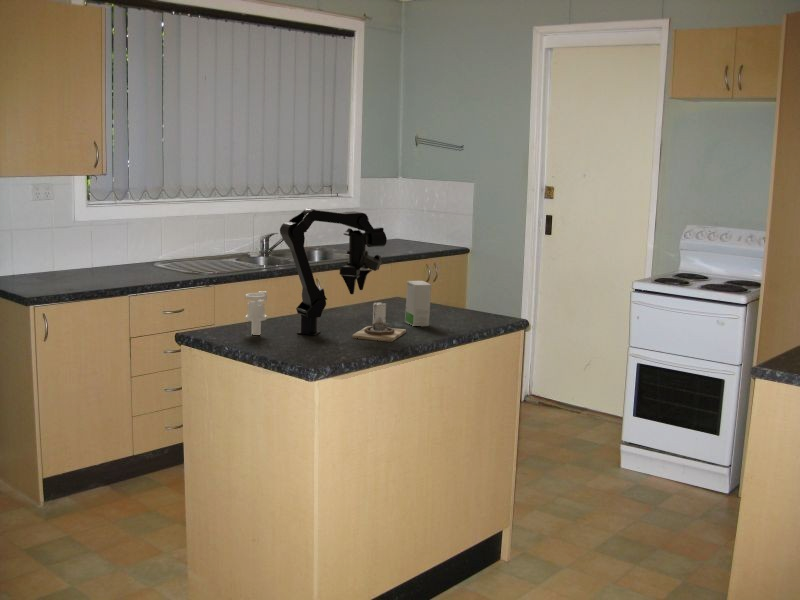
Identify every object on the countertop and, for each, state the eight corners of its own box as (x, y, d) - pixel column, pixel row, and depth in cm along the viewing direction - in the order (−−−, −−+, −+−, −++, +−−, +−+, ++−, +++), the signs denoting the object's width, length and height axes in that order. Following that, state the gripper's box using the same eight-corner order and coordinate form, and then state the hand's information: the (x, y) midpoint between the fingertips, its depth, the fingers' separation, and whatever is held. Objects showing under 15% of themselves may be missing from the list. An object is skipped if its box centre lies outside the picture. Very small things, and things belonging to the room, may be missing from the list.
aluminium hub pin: (384, 334, 304) (385, 305, 303) (367, 333, 306) (368, 304, 304) (389, 331, 310) (390, 302, 308) (373, 329, 312) (374, 301, 310)
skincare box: (404, 322, 330) (405, 280, 327) (420, 321, 332) (422, 280, 330) (413, 327, 322) (415, 284, 319) (430, 326, 325) (432, 283, 322)
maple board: (391, 341, 299) (391, 336, 298) (352, 337, 303) (352, 332, 303) (405, 332, 314) (405, 326, 313) (367, 328, 318) (368, 323, 318)
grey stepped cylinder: (266, 337, 300) (266, 293, 297) (245, 337, 299) (245, 293, 296) (266, 332, 307) (266, 289, 304) (245, 332, 306) (245, 289, 303)
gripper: (370, 252, 301) (369, 298, 304) (387, 246, 319) (386, 289, 322) (339, 250, 305) (338, 295, 307) (358, 244, 322) (357, 287, 325)
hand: (356, 292), depth 315 cm, fingers open, 9 cm apart
